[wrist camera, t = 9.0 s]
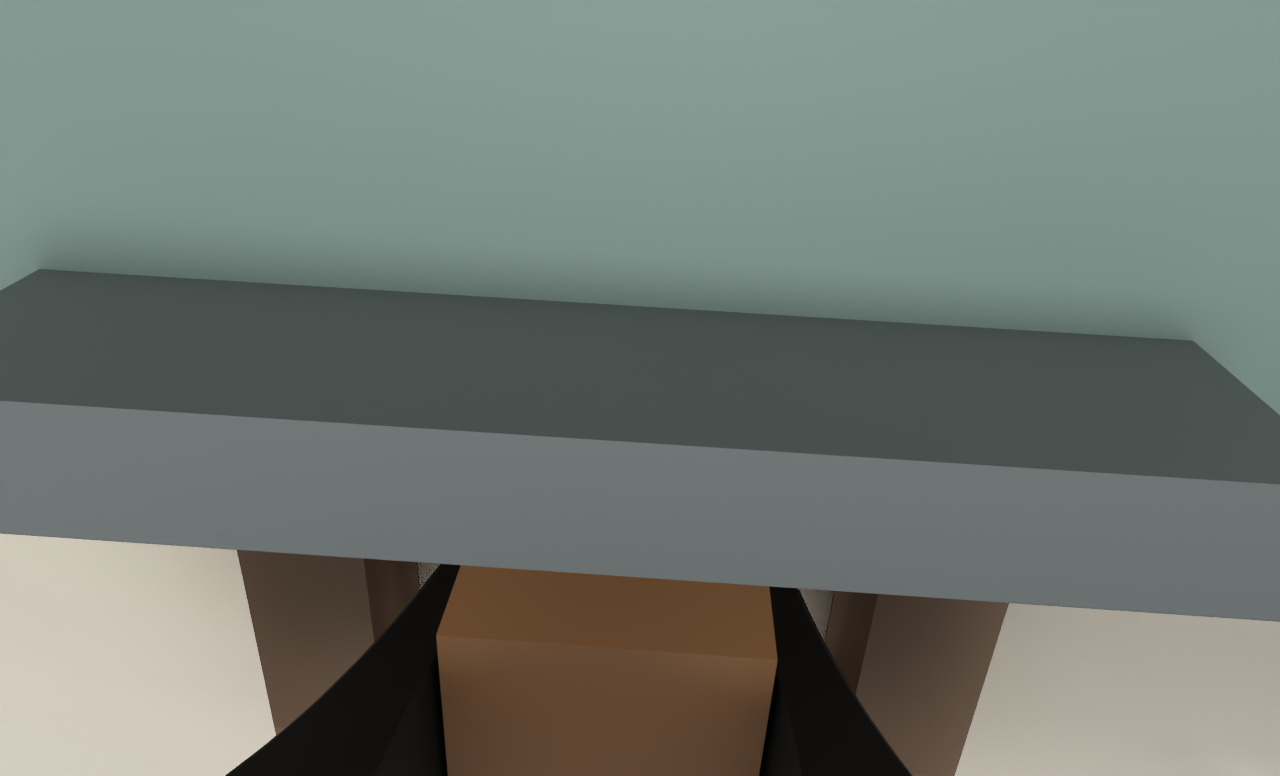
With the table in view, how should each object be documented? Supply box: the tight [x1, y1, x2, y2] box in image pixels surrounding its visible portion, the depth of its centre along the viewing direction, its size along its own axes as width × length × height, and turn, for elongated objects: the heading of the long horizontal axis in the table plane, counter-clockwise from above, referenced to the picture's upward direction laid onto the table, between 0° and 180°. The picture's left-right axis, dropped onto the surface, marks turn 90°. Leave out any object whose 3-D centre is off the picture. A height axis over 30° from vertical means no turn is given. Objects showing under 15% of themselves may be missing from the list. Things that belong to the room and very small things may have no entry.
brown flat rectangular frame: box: [237, 550, 1009, 776], centre depth 13 cm, size 12×22×2 cm, turn 177°
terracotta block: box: [436, 565, 778, 776], centre depth 14 cm, size 4×4×6 cm
